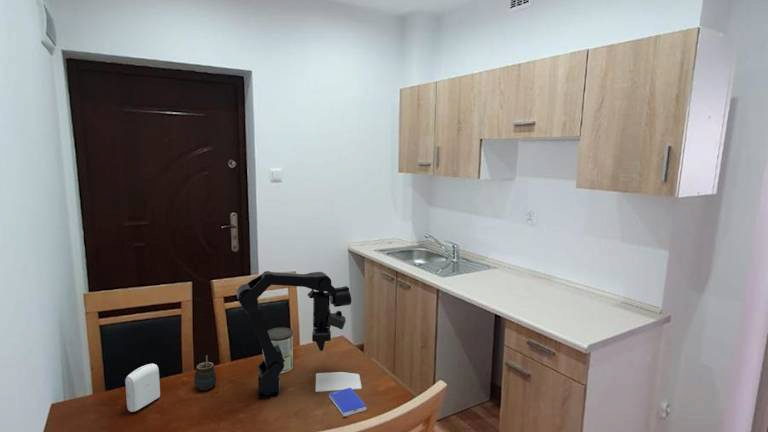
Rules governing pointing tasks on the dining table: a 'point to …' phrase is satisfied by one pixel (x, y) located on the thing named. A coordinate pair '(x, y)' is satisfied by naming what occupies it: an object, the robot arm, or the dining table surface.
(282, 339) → the coffee can
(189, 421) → the dining table surface
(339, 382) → the rubber mat
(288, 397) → the dining table surface
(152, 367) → the photo printer
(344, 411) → the hard drive
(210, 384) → the mate gourd
